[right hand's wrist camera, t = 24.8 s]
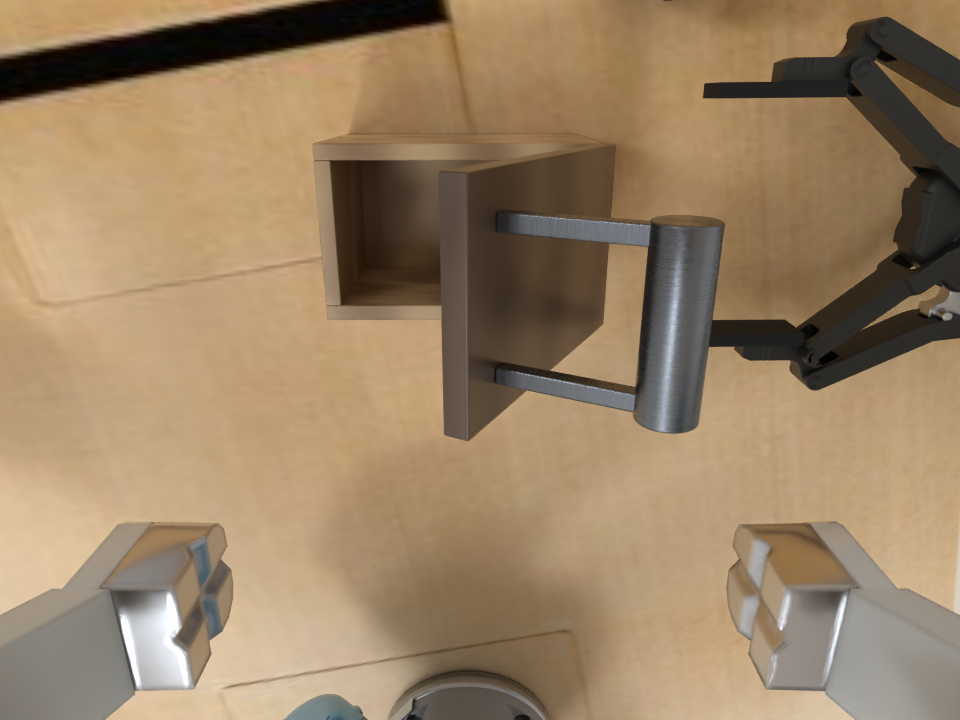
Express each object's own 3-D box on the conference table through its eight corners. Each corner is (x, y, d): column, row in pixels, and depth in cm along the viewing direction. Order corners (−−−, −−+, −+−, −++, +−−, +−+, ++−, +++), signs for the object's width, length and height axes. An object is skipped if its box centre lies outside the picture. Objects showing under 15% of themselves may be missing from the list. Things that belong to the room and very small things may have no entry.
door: (443, 435, 25) (677, 495, 21) (437, 170, 21) (716, 185, 18) (585, 321, 37) (747, 346, 33) (595, 143, 34) (777, 149, 30)
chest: (357, 276, 47) (326, 320, 37) (347, 133, 43) (311, 143, 34) (570, 276, 47) (592, 320, 37) (577, 133, 43) (603, 143, 34)
